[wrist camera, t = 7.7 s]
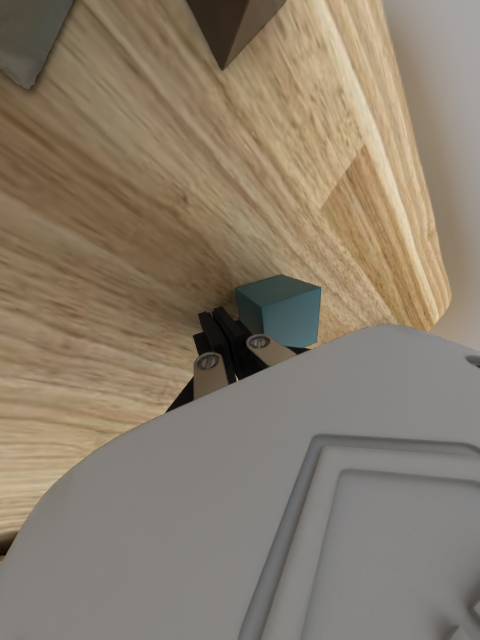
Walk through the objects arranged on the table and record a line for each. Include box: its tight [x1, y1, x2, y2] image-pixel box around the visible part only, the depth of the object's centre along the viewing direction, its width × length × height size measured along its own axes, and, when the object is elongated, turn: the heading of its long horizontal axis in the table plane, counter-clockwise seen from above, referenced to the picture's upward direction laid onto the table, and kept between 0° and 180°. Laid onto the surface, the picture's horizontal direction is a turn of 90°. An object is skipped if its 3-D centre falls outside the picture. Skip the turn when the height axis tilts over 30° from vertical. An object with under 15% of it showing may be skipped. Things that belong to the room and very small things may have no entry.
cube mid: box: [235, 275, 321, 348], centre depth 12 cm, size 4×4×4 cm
